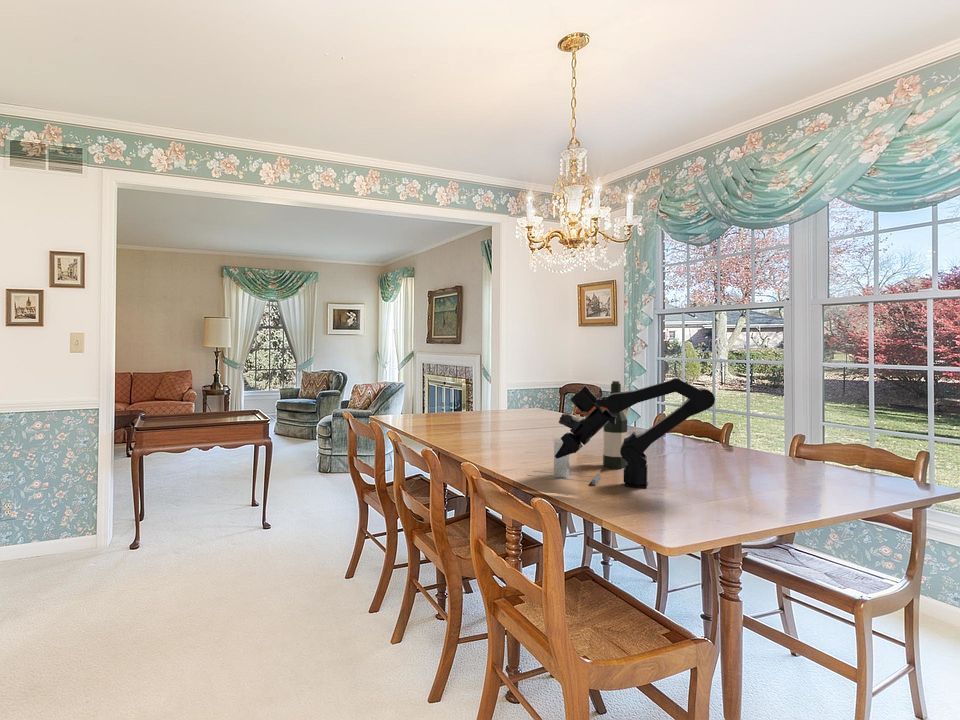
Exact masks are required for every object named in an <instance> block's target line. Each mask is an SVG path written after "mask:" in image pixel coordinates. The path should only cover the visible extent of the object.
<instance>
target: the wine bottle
mask: <svg viewBox="0 0 960 720" xmlns="http://www.w3.org/2000/svg"><path fill="white" fill-rule="evenodd" d="M621 385H622V384H621V383H620V381H618V380H613V381H612V383H610V394H612V393H617V392H622V388H621V387H622V386H621ZM607 411H608V412H609V413H610V414H611V415H613V416H615V415H616V416H617V417H616V424H615V425H612V424H611V423H610V422H608V423H607V424H606V425H605V426H604V427H603V428H602V429H603V433H602V434H603V436H602V437H603V438H602V440H603V442H602V443H603V444H602V466H603V467H604V468H605V467H607V468H606V469H610V468H616V469H615V470H622V468H624V469H625V468H626V464H627V461H626V460H624V459H623V458H622V456H621V454H620V450H621V446H622V443H623V442H624V438H628V419H627V417H626V416H625V413H624V412H623V411H624V410H623V411H621V412H618V413H612V412H610V411H609V410H607Z"/></svg>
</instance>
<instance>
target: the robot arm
mask: <svg viewBox="0 0 960 720" xmlns="http://www.w3.org/2000/svg"><path fill="white" fill-rule="evenodd" d="M674 393H677V394H680V395H681V396H684V397H685V398H686V400H685V401H684V402H683V403H682V404H681V405H680V406H679V407H677V408H676V409H674V411H672V412H671V413H669V414H667V415H666V416H665V417H664V418H662V419H661V420H659V421H658V422H656V423H655V424H653V425H652V426H651V427H649V428H647V430H645V431H644V432H641V433H639V434H637V433H636V431H633V432H632V433H631V434H630V435H629V436H627V438H624V442H623V443H622V446H621V450H620V454H621V456H622V458H623V459H624V460H626V461H627V464H626V468H624V469H623V483H624V484H623V485H624V487H632V488H639V489H640V488H642V489H647V488H648V485H649V479H648V478H649V477H648V475H649V465H648V464H647V462H648V457H647V455H646V454H645V452H646V451H647V450H648V448H649V447H650V446H651V445H652V444H653V443H654V442H656V441H657V440H659V439H660V438H662V437H663V436H664V435H666V434H667V433H669V432H670V431H672V430H673V429H674V428H675V427H677V426H678V425H680V424H681V423H683V422H684V421H685V420H687V419H689V418H690V417H692V416H693V417H694V416H695V415H697V414H700V413H702V412H705V411H706V410H708V409H711V408H712V407H713V406H714V405H715V402H716V398H715V395H714V393H713V392H711V390H710V389H708V388H705V387H699V388H697V387H695V386H693V385H691V384H689V383H687V382H685V381H683V380H682V379H680V378H678V377H674V378H672V379H669V380H666V381H663V382H659V383H657V384H653V385H649V386H646V387H642V388H640V389H636V390H629V391H621V392H617V393H612V394H611V393H610V394H609V395H608V396H604V397H602V396H600V397H597V396H596V395H595V394H594V393H593V391H591V390H590V388H589V387H588V386H587V385H585V386H583V387H582V389H580V390H579V391H578V392H576V393H575V394H574V395H573V396H572V397H571V398H570V399H569V401H570V402H571V404H573V406H575V407H576V409H578V411H580V413H586V414H588V413H589V412H590V413H589V414H588V415H587V416H586V417H585V418H582V419H579V418H577V417H576V416H574V415H571V414H570V413H568V412H563V413H562V414H561V416H560V417H559V421H558V424H560V425H562V426H565V427H566V428H568V429H569V431H570V432H566V433H564V434H563V435H562V436H561V440H562V441H563V445H562V446H561V448H560V449H559V451H558V452H557V453H556V455H555V457H556V458H557V459H558V458H561V457H563V456H566V455H569V456H570V455H572V454H576V453H577V452H578V451H580V450H581V448H583V445H584V446H586V444H588V443H589V442H590V441H591V439H592V438H593V437H594V436H595V435H596V434H597V433H598V432H599V431H600V430H601V429H603V427H604V426H605V425H606V424H607V423H608V422H610V423H611V424H612V425H615V424H616V417H617V416H616V415H615V416H613V415H611V414H610V413H609V412H608V411H610V412H612V413H618V412H621V411H625V410H627V409H629V408H631V407H633V406H634V405H636V404H638V403H643V402H645V401H649V400H652V399H656V398H659V397H662V396H665V395H666V396H667V395H669V394H674ZM594 407H595V408H594ZM593 408H594V409H593ZM603 408H605V409H603ZM591 410H592V411H591Z"/></svg>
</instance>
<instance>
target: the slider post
mask: <svg viewBox="0 0 960 720" xmlns="http://www.w3.org/2000/svg"><path fill="white" fill-rule="evenodd" d="M561 437H562V436H561ZM561 437H560V436H556V437H555V438H553V441H552V442H553V444H554V445H553V477H554V478H564V479H568V477H569V476H570V475H569V474H570V454H569V455H566V456H563V457H561V458H558V459H557V458H556V457H555V455H556V453H557V452H558V451H559V449H560V448H561V446H562V445H563V441H562V440H561Z"/></svg>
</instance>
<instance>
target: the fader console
mask: <svg viewBox="0 0 960 720" xmlns="http://www.w3.org/2000/svg"><path fill="white" fill-rule="evenodd" d="M533 472H535V473H542V471H540V470H533ZM543 473H544V474H545V473H547V474H553V471H552V472H549V471H543ZM569 476H578V477H584V475H580V474H572V473H571V474H570V473H569ZM526 477H536V478H537V477H539V478H547V479H549V478H550V479H559V480H568V481H575V479H573V478H560V477H554V476H553V477H552V476H541V475H532V474H527V475H526ZM585 477H587V478H588V477H589V478H592V480H583V479H576V481H577V482H589V483H588V486H597V484H598V483H599V482H600V481H601V473H596V474H595V476H594V475H593V476H591V475H585Z"/></svg>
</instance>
